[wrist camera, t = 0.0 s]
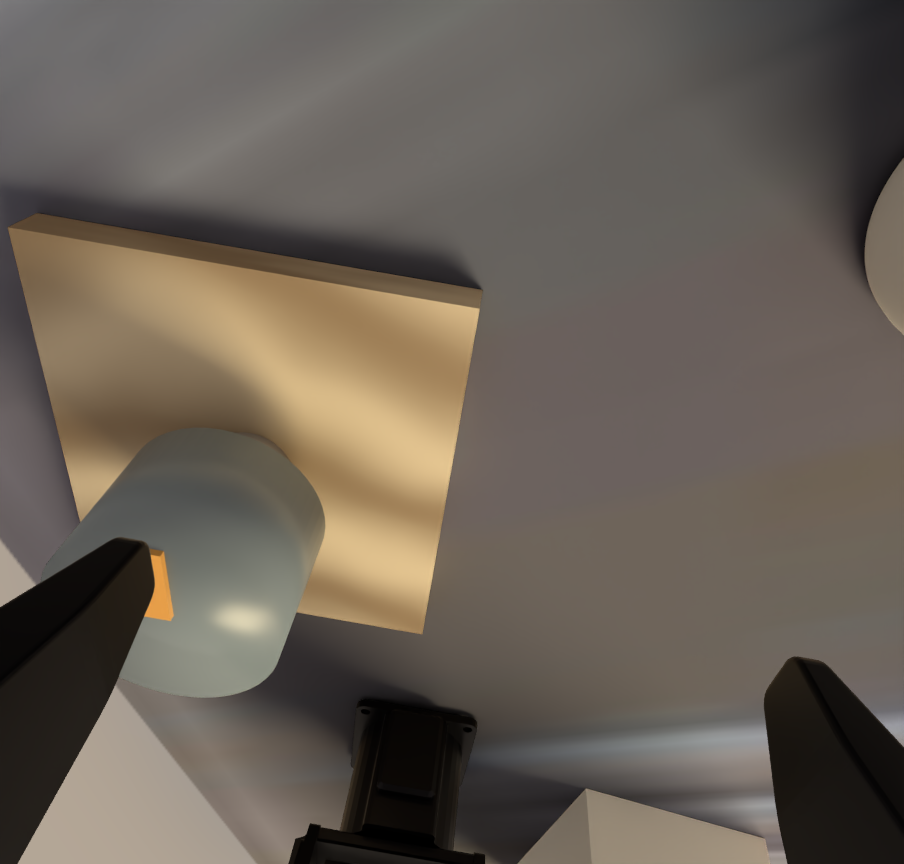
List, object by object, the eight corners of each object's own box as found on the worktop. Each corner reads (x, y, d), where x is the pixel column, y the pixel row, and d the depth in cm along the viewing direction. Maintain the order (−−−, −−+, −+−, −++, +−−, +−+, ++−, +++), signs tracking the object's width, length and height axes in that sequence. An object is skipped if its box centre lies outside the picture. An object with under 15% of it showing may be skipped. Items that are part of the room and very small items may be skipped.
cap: (322, 594, 25) (279, 719, 21) (141, 562, 25) (62, 681, 21) (328, 448, 21) (276, 566, 17) (113, 410, 21) (9, 519, 17)
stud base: (426, 608, 31) (414, 678, 28) (111, 553, 31) (64, 617, 28) (482, 290, 22) (474, 342, 19) (36, 213, 22) (-45, 252, 19)
